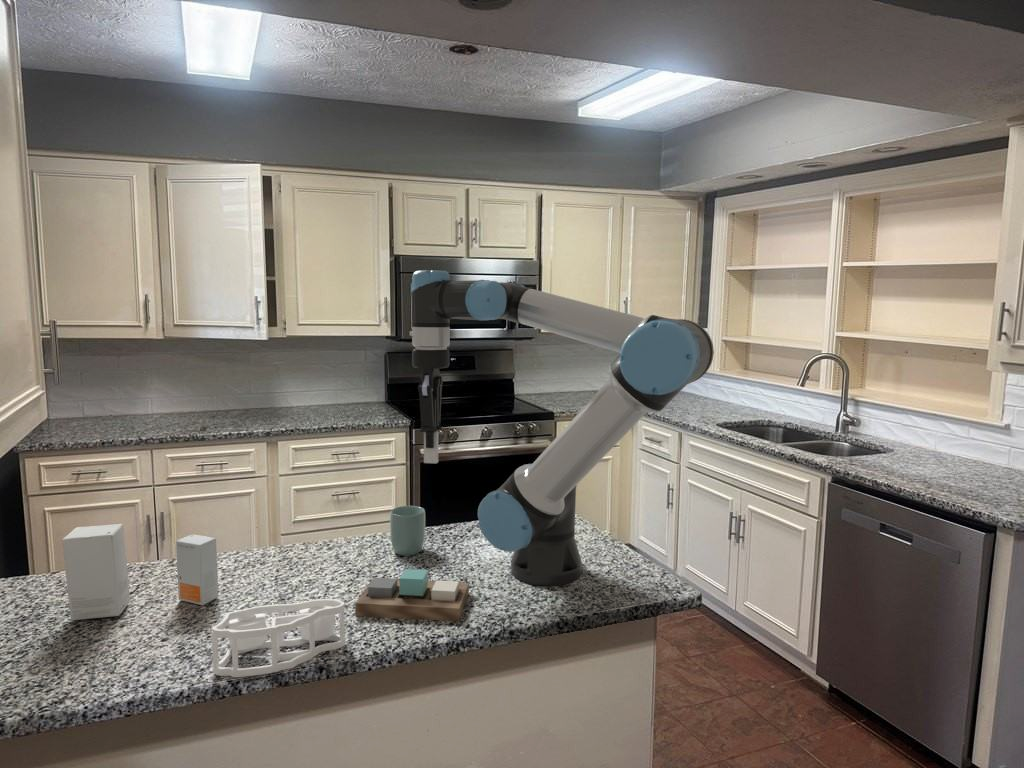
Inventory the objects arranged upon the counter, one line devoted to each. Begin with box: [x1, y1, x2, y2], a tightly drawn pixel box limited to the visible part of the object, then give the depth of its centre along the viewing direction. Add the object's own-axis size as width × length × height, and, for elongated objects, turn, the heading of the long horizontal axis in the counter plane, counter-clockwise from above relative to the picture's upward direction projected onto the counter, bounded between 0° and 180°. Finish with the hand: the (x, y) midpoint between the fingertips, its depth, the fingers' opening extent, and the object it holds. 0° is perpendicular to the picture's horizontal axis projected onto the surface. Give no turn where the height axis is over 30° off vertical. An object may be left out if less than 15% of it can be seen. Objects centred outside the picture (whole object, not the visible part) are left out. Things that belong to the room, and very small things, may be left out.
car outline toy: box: [211, 598, 346, 678], centre depth 109 cm, size 20×11×7 cm, turn 107°
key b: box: [398, 568, 429, 596], centre depth 126 cm, size 4×4×3 cm
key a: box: [431, 580, 460, 601], centre depth 126 cm, size 4×4×3 cm
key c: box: [368, 577, 398, 598], centre depth 127 cm, size 4×4×3 cm
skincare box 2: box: [175, 534, 219, 606], centre depth 128 cm, size 6×4×12 cm
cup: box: [389, 505, 426, 557], centre depth 153 cm, size 8×8×10 cm
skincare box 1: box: [61, 523, 131, 621], centre depth 122 cm, size 8×7×16 cm
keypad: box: [354, 578, 470, 622], centre depth 127 cm, size 19×11×2 cm, turn 85°
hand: (431, 462), depth 138 cm, fingers closed
